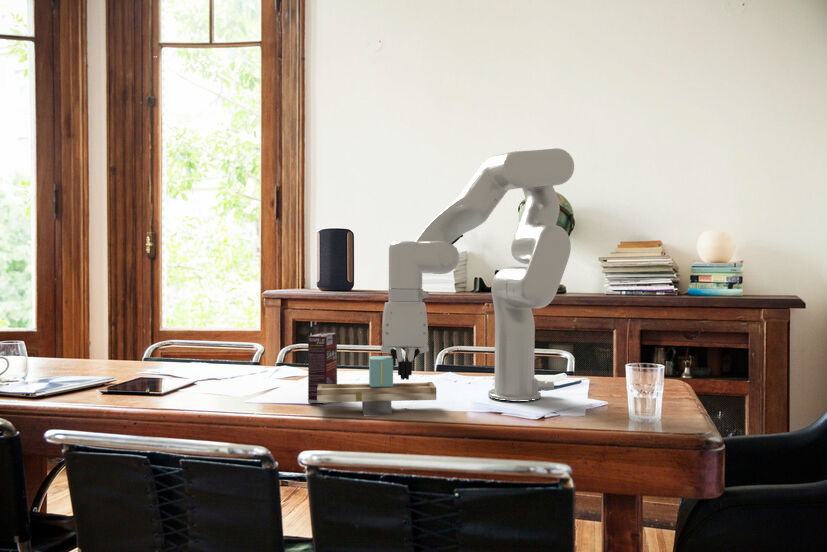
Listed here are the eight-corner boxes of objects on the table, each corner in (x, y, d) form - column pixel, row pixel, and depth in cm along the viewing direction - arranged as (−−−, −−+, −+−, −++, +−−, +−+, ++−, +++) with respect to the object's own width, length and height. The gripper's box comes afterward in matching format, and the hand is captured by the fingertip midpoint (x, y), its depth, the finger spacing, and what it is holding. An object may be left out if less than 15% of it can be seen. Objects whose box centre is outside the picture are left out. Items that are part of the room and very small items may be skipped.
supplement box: (327, 404, 163) (326, 336, 162) (307, 403, 164) (306, 336, 163) (338, 397, 171) (337, 332, 171) (319, 396, 172) (318, 332, 172)
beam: (431, 405, 162) (431, 381, 162) (436, 414, 153) (437, 388, 153) (318, 408, 159) (318, 383, 159) (317, 417, 150) (316, 390, 150)
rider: (391, 388, 159) (391, 355, 159) (393, 392, 154) (393, 359, 153) (369, 388, 158) (369, 356, 158) (370, 393, 153) (370, 359, 153)
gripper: (436, 295, 160) (435, 375, 161) (370, 295, 159) (370, 376, 159) (441, 297, 153) (440, 381, 154) (372, 297, 151) (372, 382, 152)
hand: (404, 378), depth 156 cm, fingers closed
